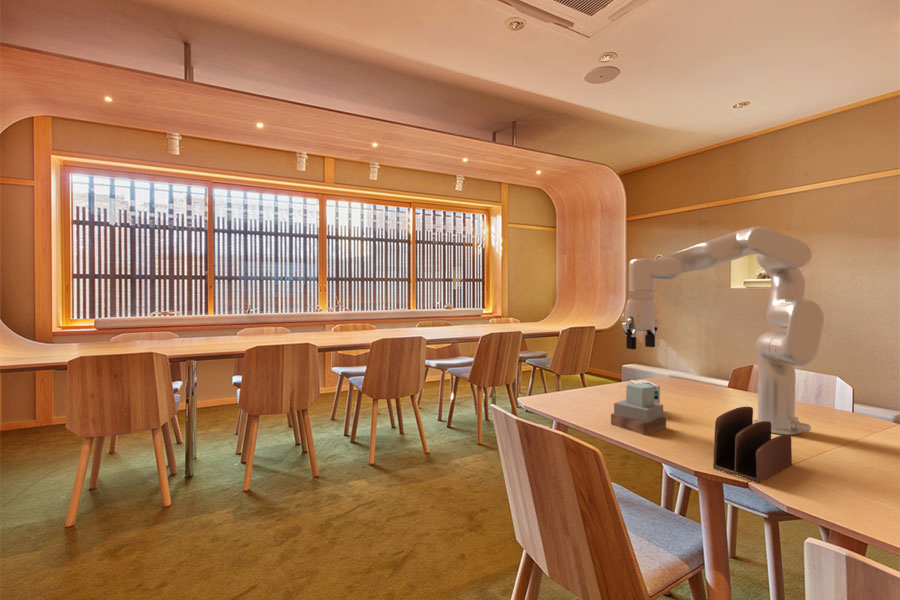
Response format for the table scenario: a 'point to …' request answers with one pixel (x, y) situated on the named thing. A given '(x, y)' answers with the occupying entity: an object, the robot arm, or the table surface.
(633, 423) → the walnut slab
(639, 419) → the grey slab
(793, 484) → the table surface
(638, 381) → the light bulb box
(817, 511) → the table surface
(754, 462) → the letter holder
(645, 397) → the blue-grey block
